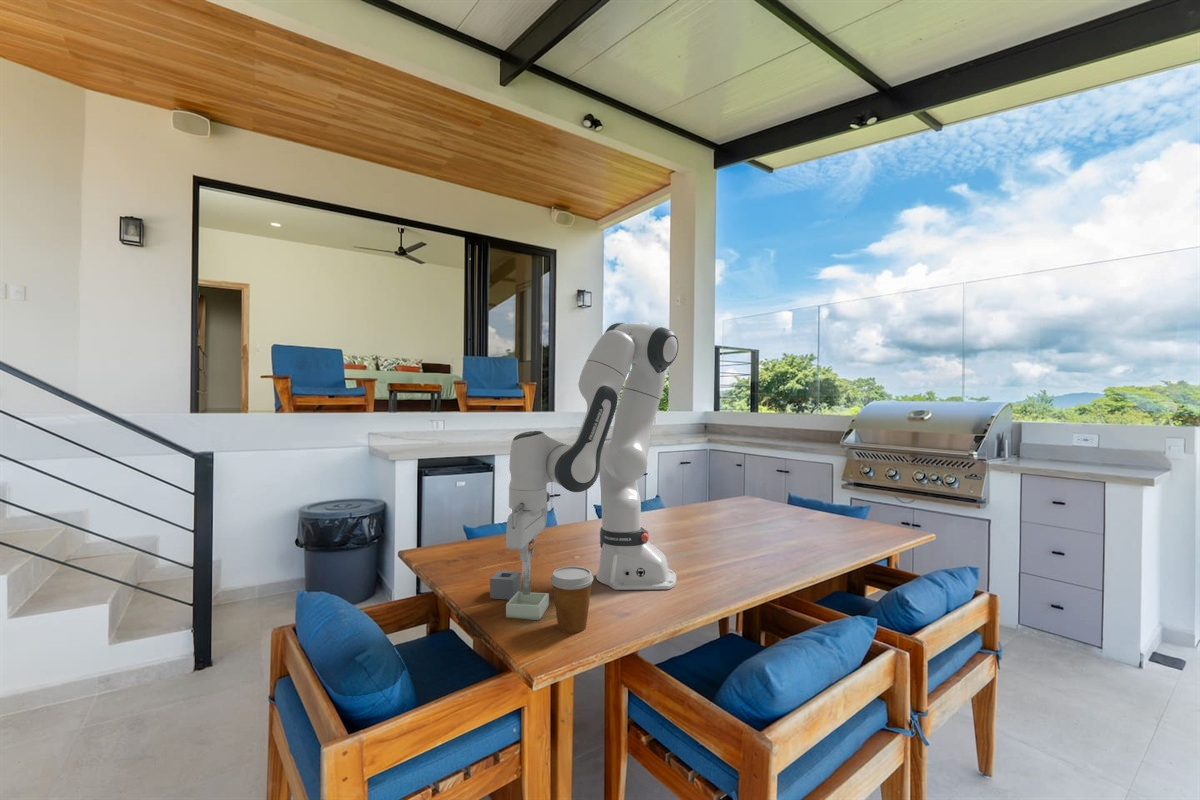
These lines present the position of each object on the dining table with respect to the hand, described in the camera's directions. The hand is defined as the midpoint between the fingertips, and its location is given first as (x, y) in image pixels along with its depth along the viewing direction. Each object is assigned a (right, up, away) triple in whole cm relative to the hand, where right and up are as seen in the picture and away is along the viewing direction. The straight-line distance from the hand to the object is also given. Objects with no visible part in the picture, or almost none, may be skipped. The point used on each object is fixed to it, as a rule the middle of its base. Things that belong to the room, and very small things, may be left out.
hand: (527, 557), depth 119 cm
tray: (0, -13, 0) cm, 13 cm away
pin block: (-7, -13, +11) cm, 18 cm away
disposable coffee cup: (+11, -13, -8) cm, 19 cm away
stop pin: (0, -8, 0) cm, 8 cm away
